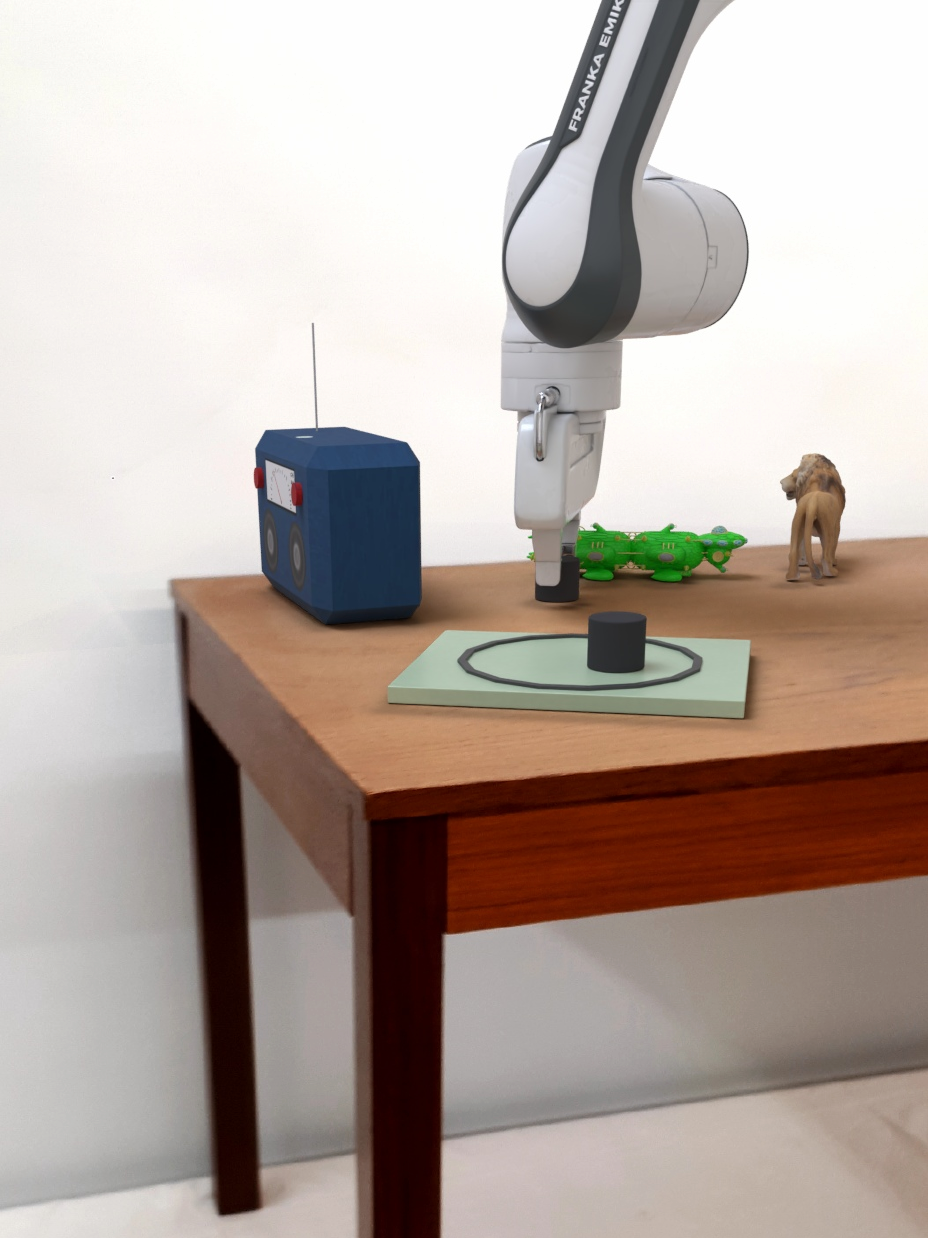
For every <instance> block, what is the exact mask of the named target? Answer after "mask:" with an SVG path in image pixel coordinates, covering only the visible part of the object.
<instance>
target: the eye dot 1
mask: <svg viewBox="0 0 928 1238" xmlns="http://www.w3.org/2000/svg"><path fill="white" fill-rule="evenodd" d="M561 559H562V578H561V580H560V581H559V583H558V584H557V585H555V586H540V585H538V584H537V583H536V580H535V579H534V598H535V600H536V601H540V602H548V603H549V602H550V603H567V602H573V601H574V602H575V601H576V600H579V598H580V576H581V575H580V573H581V569H580V559H579V558H577V557H573V556H561ZM534 563H535V566H534V567H535V570H534V571H535V572H534V575H535V574H536V561H535V562H534Z"/></svg>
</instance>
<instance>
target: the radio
mask: <svg viewBox="0 0 928 1238" xmlns="http://www.w3.org/2000/svg"><path fill="white" fill-rule="evenodd" d="M311 335H312V336H311V339H312V343H311V344H312V364H313V365H312V367H313V390H314V391H313V392H314V418H315V419H314V420H315V427H304V428H301V427H300V428H280V429H278V428H277V429H265V430H264V432H263V434H262V435H261V437H260V439H259V441H258V442H257V444H256V446H255V448H254V453H255V467H254V468H253V483H254V488H255V489H256V492H257V510H258V526H259V527H258V529H259V545H260V564H261V565H260V566H261V572H262V574H263V575H264V576H265V578H266V579H267V580H268V582H269V583H270V584H271V586H272V587H273V588H274V589H275V590H276V591H279V593H281V594H282V595H284V596H285V597H286V598H287V599H289V600H290V601H292V602H293V603H294V604H296V605H297V606H299V607H301V608H302V609H303V610H305V612H307V613H308V614H310V615H311V616H313V617H314V618H315V619H317V620H318V621H320V622H321V623H323V624H324V625H335V624H347V623H358V622H359V623H361V622H372V621H386V620H399V619H410V618H412V616H413V614H414V613H415V612H416V611H417V609H418V608H419V606H420V605H421V603H422V598H423V586H422V585H423V584H422V583H423V581H422V574H423V573H422V515H421V514H422V511H421V510H422V508H421V506H422V505H421V504H422V503H421V499H422V498H421V461H420V460H419V457H417V455H416V453H415V452H414V450H413V449H412V447H411V445H410V444H409V442H407V441H403V440H399V439H396V438H392V437H387V436H383V435H379V434H376V433H372V432H368V431H363V430H359V429H356V428H352V427H347V426H329V427H328V426H326V427H325V426H324V427H319V422H318V421H319V420H318V396H317V394H318V393H317V392H318V391H317V368H316V367H317V365H316V344H315V343H316V341H315V323H314V322H311Z"/></svg>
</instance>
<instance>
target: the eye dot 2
mask: <svg viewBox="0 0 928 1238" xmlns="http://www.w3.org/2000/svg"><path fill="white" fill-rule="evenodd" d="M587 619H588V620H587V621H588V622H587V634H588V648H587V667H588V668H589V669H591V670H594V671H598V672H605V673H630V672H636V671H639V670H642V669H643V668H644V666H645V645H646V637H647V622H648V621H647V620H648V618H647V616H646V615H645V614H641V613H639V612H632V611H621V610H619V611H618V610H615V611H614V610H611V611H610V610H609V611H599V612H595V613H592V614H590V615H588V618H587Z"/></svg>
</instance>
